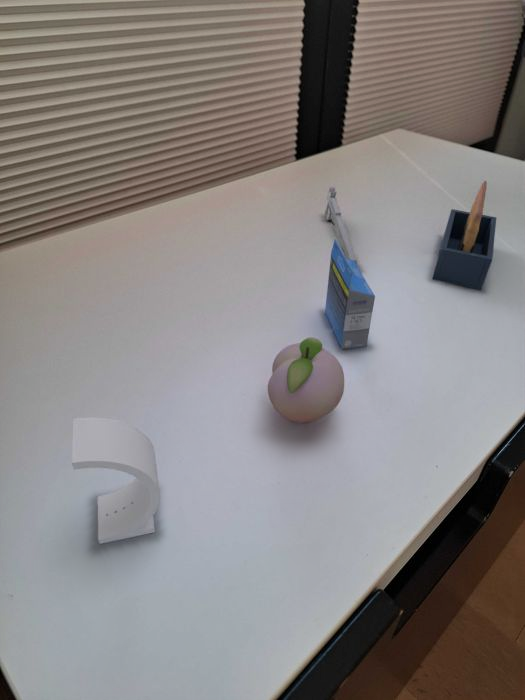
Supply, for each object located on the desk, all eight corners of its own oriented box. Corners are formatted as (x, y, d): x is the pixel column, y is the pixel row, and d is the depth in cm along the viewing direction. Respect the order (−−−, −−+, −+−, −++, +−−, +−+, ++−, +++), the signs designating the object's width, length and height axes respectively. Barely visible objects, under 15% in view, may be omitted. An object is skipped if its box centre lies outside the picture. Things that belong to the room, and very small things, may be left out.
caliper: (323, 215, 99) (327, 184, 95) (329, 215, 99) (333, 184, 95) (351, 271, 83) (357, 237, 79) (357, 271, 83) (364, 236, 79)
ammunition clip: (464, 275, 82) (488, 205, 75) (453, 272, 83) (475, 203, 75) (470, 245, 90) (491, 179, 82) (459, 243, 90) (480, 177, 83)
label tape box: (367, 347, 69) (384, 269, 61) (338, 350, 68) (351, 271, 60) (348, 309, 75) (361, 234, 67) (322, 311, 75) (331, 236, 67)
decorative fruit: (335, 450, 55) (348, 384, 49) (261, 438, 56) (264, 372, 50) (340, 390, 62) (352, 325, 56) (274, 380, 63) (278, 316, 57)
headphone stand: (98, 501, 50) (73, 418, 42) (161, 489, 51) (147, 406, 43) (99, 544, 46) (71, 463, 38) (166, 530, 47) (152, 448, 40)
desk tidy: (486, 246, 91) (496, 217, 88) (480, 290, 80) (492, 259, 77) (443, 237, 93) (451, 208, 90) (432, 279, 82) (441, 248, 79)
